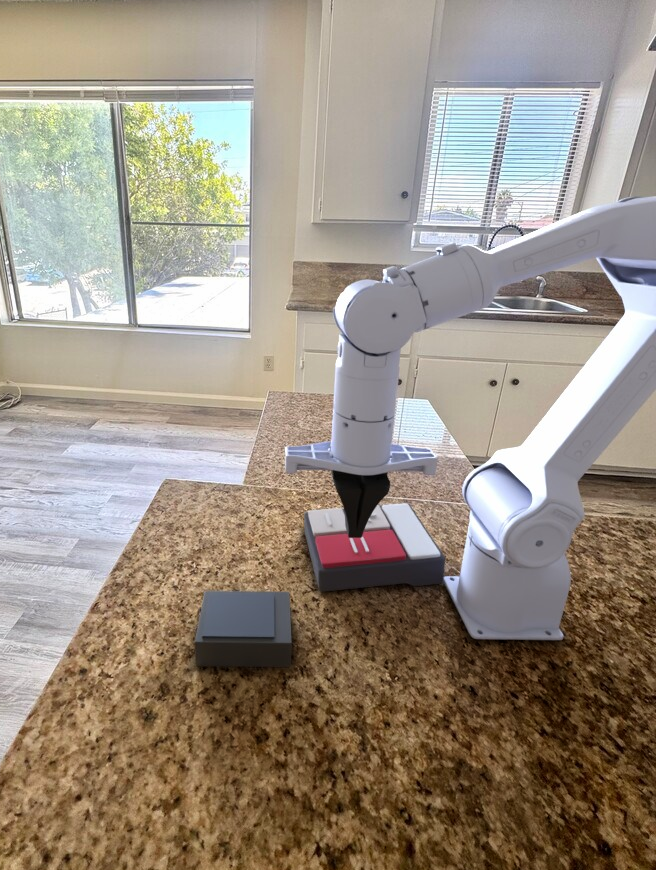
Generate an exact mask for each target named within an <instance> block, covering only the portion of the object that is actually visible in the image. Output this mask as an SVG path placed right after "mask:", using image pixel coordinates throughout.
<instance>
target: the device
mask: <svg viewBox="0 0 656 870" xmlns="http://www.w3.org/2000/svg"><path fill="white" fill-rule="evenodd" d="M290 601H291V600H290V591H269V590H268V591H267V590H265V591H262V590H260V591H259V590H257V591H255V590H253V591H252V590H204V592H203V597H202V603H201V607H200V613H199V618H198V623H197V628H196V634H195V638H194V652H195V653H194V654H195V656H194V657H195V667H232V668H233V667H235V668H238V667H240V668H241V667H247V668H257V667H258V668H291V667H292V666H291V665H292V645H293V644H292V625H291V624H292V622H291V621H292V619H291V602H290Z"/></svg>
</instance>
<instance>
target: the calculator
mask: <svg viewBox="0 0 656 870" xmlns="http://www.w3.org/2000/svg"><path fill="white" fill-rule="evenodd" d="M303 525H304V526H303V527H304V529H303V530H304V531H303V532H304V535H305V539H306V544H307V547H308V552H309V556H310V559H311V563H312V568H313V572H314V576H315V580H316V584H317V588H318V590H319V591H320V592H321V593H322V592H332V591H333V592H334V591H343V590H351V589H352V590H353V589H361V588H372V587H380V586H391V585H392V586H393V585H401V584H408V585H410V586H412V587H421V586H429V585H439V584H440V585H441V584H442V583H444V582H443V578H444V577H445V566H446V556H445V555H444V554H443V552H442V550H441V549H440V548H439V546H438V544H437V543H436V542H435V540H434V538H433V536H432V535H431V534H430V532H429V531H428V529H427V528H426V527H425V525H424V523H423V522H422V520H421V519H420V518H419V516H418V515H417V513H416V512H415V510H414V508H413V507H412V506H411V504H410V503H407V502H403V503H392V504H382V505H379V504H378V505H377V506H376V508H375V509H374V511H373V512H372V514H371V516H370V518H369V520H368V522H367V524H366V527H365V529H364V532H363V535H362V537H361V538H349V537H348V534H347V530H346V526H345V514H344V508H342V507H334V508H323V509H312V510H311V509H310V510H308V511H306V512H304V514H303Z"/></svg>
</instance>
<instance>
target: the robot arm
mask: <svg viewBox="0 0 656 870" xmlns="http://www.w3.org/2000/svg"><path fill="white" fill-rule="evenodd" d="M435 252H436V255H433V256H431V257H427V258H425V259H423V260H420V261H417V262H415V263H412V264H409V265H407V266H404V267H402V268H399V269H398V267H397V266H395V265H392V266H389V267H386V268H384V269H383V270H382V273H383V278H382V281H378V280H376V279H375V280H374V279H369V278H368V279H360V280H357V281H355V282H352V283H351V284H349V285H348V286H347V287H346V288H344V291H343V292H341V293H340V295H339V297H338V298H337V301H336V303H335V307H333V309H332V317H333V321H334V324H335V325H336V327H337V328H338V330H339V331H340V332H341V333H340V334H339V335H338V343H337V358H336V361H335V371H334V387H333V403H332V422H331V424H332V425H331V437H330V438H331V439H330V440H328V441H322V442H316V443H310V444H304V445H294V446H293V445H290V446H285V450H284V451H285V453H284V455H285V456H284V468H285V469H284V470H285V474H297V472H298V471H330V473H331V477H332V482H333V485H334V488H335V491H336V493H337V495H338V497H339V499H340V502H341V504H342V507H343V509H344V514H345V526H346V530H347V534H348V537H349V538H361V537H362V535H363V532H364V529H365V527H366V524H367V522H368V520H369V518H370V516H371V514H372V512H373V511H374V509H375V508H376V506H377V505H379V504H380V503H381V501H382V500H383V499H384V498H385V497H387V495H388V494H389V492H390V488H391V481H390V478H389V477H388V475H389V474H388V473H392V472H413V473H415V472H417V473H418V472H419V473H420V472H421V473H422V474H423V475H425V476H436V474H437V473H436V472H437V466H438V459H439V458H438V456H437V455H436V454H435V452H434V451H433V450H432V449H431V448H429V447H416V446H410V445H409V446H408V445H404V444H403V445H402V444H396V443H393V434H394V425H395V416H396V406H397V397H398V396H397V395H398V386H399V378H400V369H401V368H400V361H401V351H402V349H403V347H405V346H406V344H407V343H408V342H409V341H410V340H411V338H412V336H413V335H414V334H415V333H419V332H422V331H425V330H428V329H430V328H431V329H432V328H433V327H436V326H440V325H442V324H444V323H445V324H446V323H447V322H450V321H454V320H456V319H458V318H461V317H464V316H466V315H469V314H472V313H475V312H478V311H481V310H484V309H486V308H488V307H490V305H491V304H492V303H493V301H494V299H495V298H496V296H497V294H498V292H499V290H500V289H501V288H503V287H506V286H509V285H512V284H515V283H518V282H521V281H525V280H528V279H531V278H534V277H538V276H541V275H543V274H548V273H550V272H553V271H556V270H561V269H562V268H566V267H570V266H572V265H575V264H578V263H582V262H584V261H588V260H591V259H594V258H595V259H596V261H597V262H598V264H599V266H600V267H601V269H602V270H603V272H604V273H605V275H606V276H607V278H608V280H609V282H610V283H611V284H612V286H613V287H614V289H615V291H616V292H617V294H618V295H619V296H620V297H621V299H622V303H623V304H622V305H623V307H624V314H623V316H622V317H621V318H620V319H619V321H618V322H617V323H616V324H615V326H614V327H613V328H612V329H611V331H610V332H609V334H608V335H606V337H605V339H604V340H602V343H600V345H599V346H598V347H597V349H596V350H595V351H594V353H593V354H592V355H591V356H590V358H588V360H587V362H586V363H585V364H584V365H583V366H582V368H581V369H580V370H579V372H578V373H577V374H576V375H575V377H574V378H573V379H572V380H571V382H570V383H569V385H568V386H567V387H566V388H565V390H564V391H563V392H562V393H561V394H560V396H559V397H558V399H557V400H556V401H555V403H554V404H553V405H551V408H550V409H549V410H548V411H547V413H546V414H545V415H544V417H543V418H542V419H541V420H540V422H539V423H538V424H537V425H536V426H535V428H534V429H533V430H532V432H531V433H530V434H529V436H528V437H527V438H526V439H525V441H523V443H522V444H521V445H520V446H515V447H508V448H502V449H498V450H496V451H495V452H494V454H493V455H492V457H490V458H489V460H487V461H486V462H485V463H483V464H482V465H480V466H478V467H476V468H475V469H473V470H472V471H470V473H469V474H468V475H467V476H466V478H465V479H464V482H463V483H462V487H461V493H462V498H463V500H464V502H465V504H466V505H467V506H468V507H469V509H470V510H469V517H468V519H469V521H468V522H469V523H468V528H467V533H466V540H465V545H464V549H463V557H462V562H461V566H460V573H459V576H458V575H457V576H454V575H453V576H449V575H447V576H446V575H444V577H443V582H442V583H443V584H444V586H445V589H446V590H447V592H448V594H449V596H450V598H451V600H452V602H453V604H454V607H455V608H456V610H457V612H458V614H459V616H460V617H461V621H462V622H463V624H464V626H465V628H466V630H467V632H468V634H469V635H470V637H471V638H472V639H474V640H513V641H515V640H516V641H517V640H518V641H519V640H520V641H521V640H523V641H524V640H525V641H562V640H563V639H564V636H565V635H564V633H563V631H562V630H561V629H560V626H561V622H562V618H563V614H564V612H565V611H564V610H565V607H566V604H567V600H568V596H569V592H570V589H571V583H572V575H571V574H572V573H571V568H570V564H569V561H568V558H567V556H566V553H567V551H568V549H569V548H570V546H571V542H572V540H573V539H572V538H573V535H574V533H575V530H576V529H577V527H578V526H579V525H580V524H581V522H583V520H584V519H585V518H586V517H585V516H586V514H585V509H584V504H583V501H582V496H581V493H580V489H579V481H580V480H581V478H583V476H584V475H585V473H587V471H588V470H589V469H590V468H591V467H592V465H593V464H595V462H596V461H597V460H598V459H599V457H600V456H601V455H602V454H603V453H604V451H605V450H606V449H607V448H608V447H609V446H610V444H611V443H612V442H613V441H614V440H615V439H616V437H617V436H619V434H620V433H621V431H622V430H623V429H624V428H625V427H626V426H627V424H628V423H629V422H630V421H631V420H632V418H633V417H634V416H635V415H636V414H637V412H639V410H640V409H641V408H642V407H643V405H645V403H646V402H647V401H648V400H649V399H650V397H651V396H652V395H653V394H654V392H655V391H656V195H653V196H628V197H624V198H621V199H619V200H617V201H615V202H611V203H605V204H600V205H595V206H592V207H590V208H587V209H584V210H582V211H580V212H578V213H576V214H573V215H571V216H568V217H566V218H563V219H561V220H559V221H556V222H554V223H551V224H549V225H547V226H544V227H542V228H540V229H537V230H535V231H533V232H530V233H528V234H525V235H523V236H521V237H518V238H516V239H513V240H511V241H509V242H507V243H504V244H501V245H499V246H497V247H495V248H492V249H490V250H488V251H485V250H482V249H481V248H479V247H477V246H475V245H472V244H469V243H466V244H462V245H459V246H458V243H456V242H447V243H444V244H441V245H439V246H436V248H435Z"/></svg>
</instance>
